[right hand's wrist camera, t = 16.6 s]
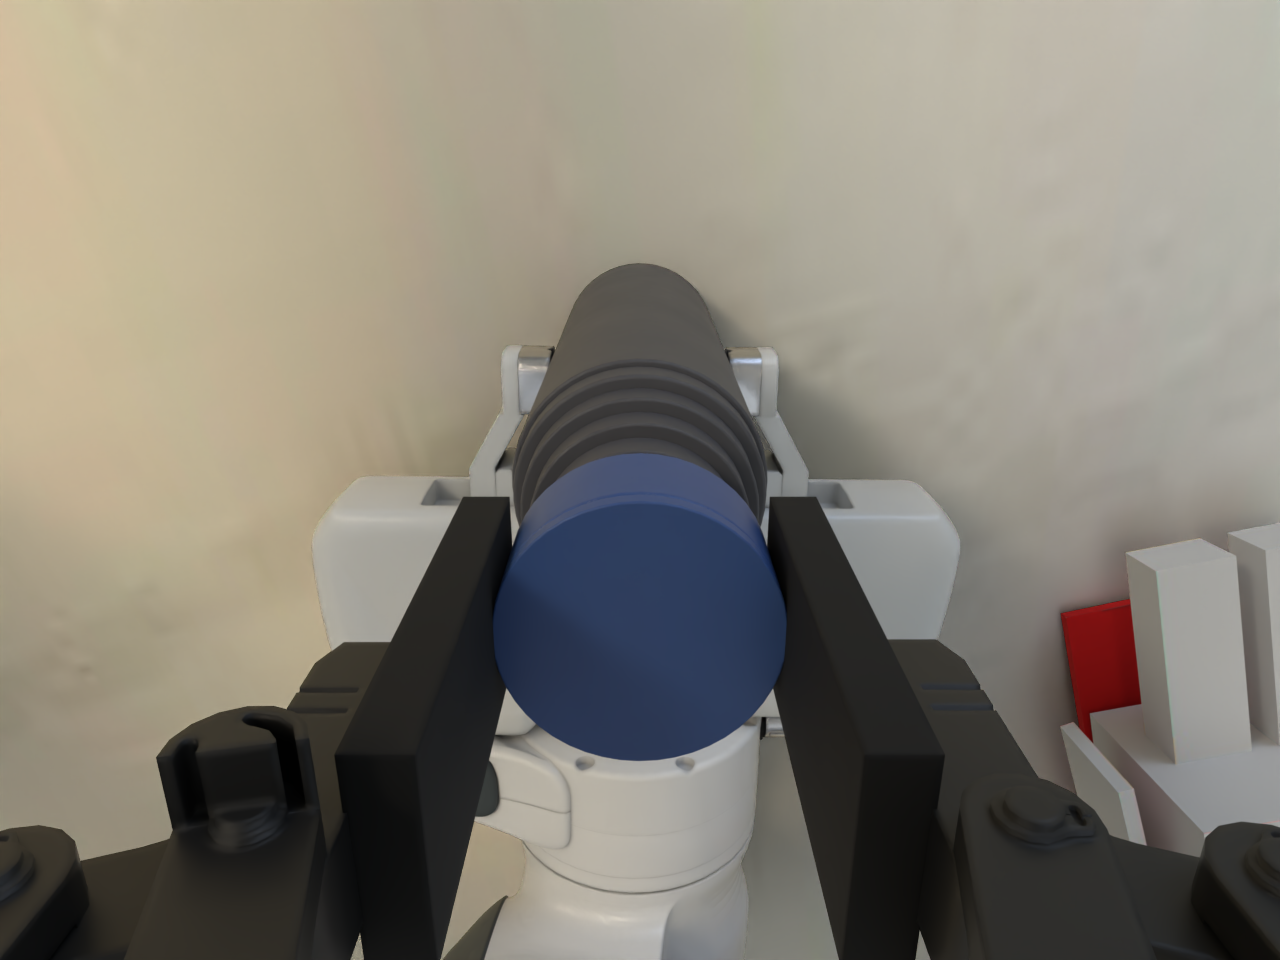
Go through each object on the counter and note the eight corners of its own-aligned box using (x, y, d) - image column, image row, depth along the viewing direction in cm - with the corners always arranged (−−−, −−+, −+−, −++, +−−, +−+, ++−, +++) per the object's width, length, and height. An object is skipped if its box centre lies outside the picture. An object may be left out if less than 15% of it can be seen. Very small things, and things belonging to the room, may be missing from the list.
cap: (724, 707, 16) (736, 788, 14) (487, 651, 15) (464, 727, 13) (804, 489, 14) (830, 545, 12) (543, 421, 14) (527, 467, 12)
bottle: (539, 352, 33) (392, 655, 13) (623, 232, 32) (596, 377, 12) (655, 433, 34) (675, 823, 15) (741, 321, 33) (894, 586, 13)
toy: (1565, 560, 25) (1563, 1346, 32) (1262, 464, 38) (1303, 1034, 45) (1131, 640, 26) (1213, 1386, 33) (979, 520, 39) (1059, 1070, 46)
